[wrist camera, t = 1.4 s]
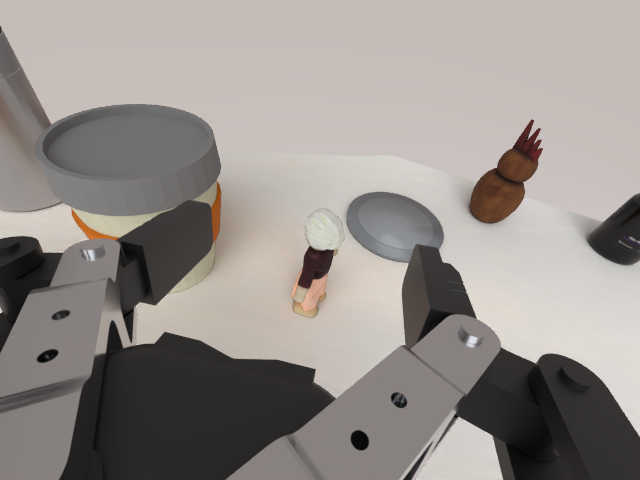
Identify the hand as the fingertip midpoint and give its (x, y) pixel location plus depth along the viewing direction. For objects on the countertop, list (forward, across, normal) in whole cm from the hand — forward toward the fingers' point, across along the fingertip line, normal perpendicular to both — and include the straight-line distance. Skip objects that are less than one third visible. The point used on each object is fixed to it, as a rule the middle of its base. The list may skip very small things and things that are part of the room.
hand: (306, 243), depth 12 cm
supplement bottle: (+38, -41, +14) cm, 58 cm away
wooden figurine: (+39, -21, +12) cm, 46 cm away
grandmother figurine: (+15, +2, +16) cm, 22 cm away
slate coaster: (+31, -7, +12) cm, 34 cm away
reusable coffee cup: (+15, +18, +15) cm, 28 cm away
